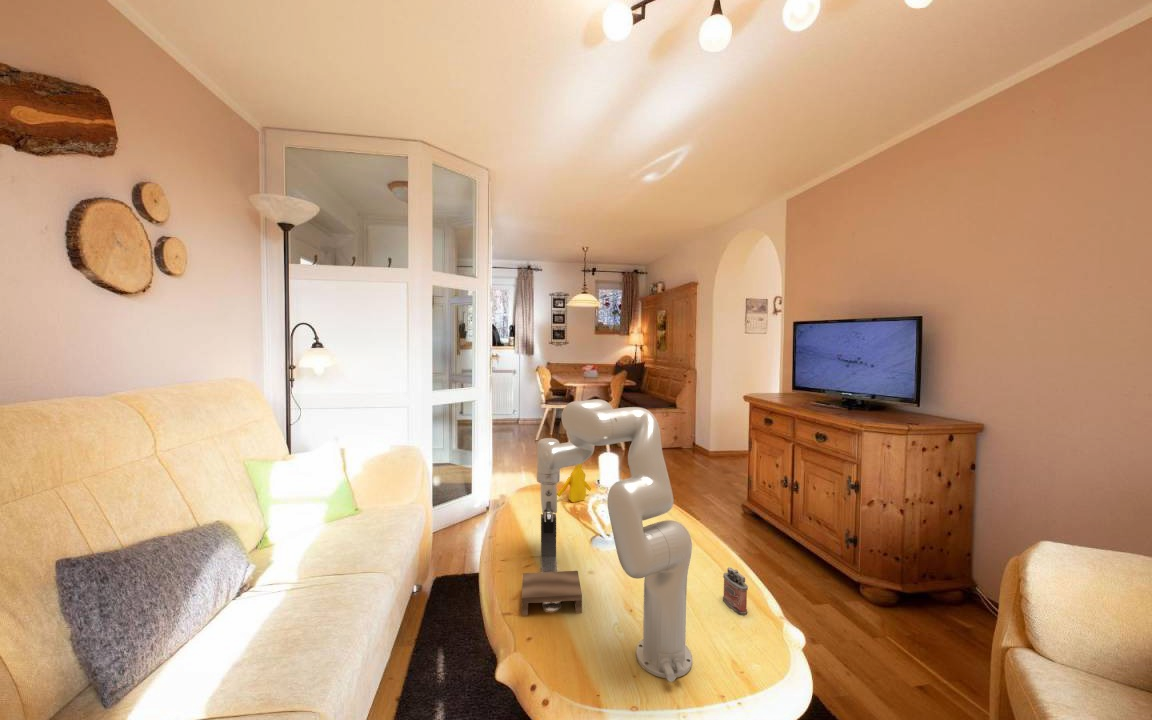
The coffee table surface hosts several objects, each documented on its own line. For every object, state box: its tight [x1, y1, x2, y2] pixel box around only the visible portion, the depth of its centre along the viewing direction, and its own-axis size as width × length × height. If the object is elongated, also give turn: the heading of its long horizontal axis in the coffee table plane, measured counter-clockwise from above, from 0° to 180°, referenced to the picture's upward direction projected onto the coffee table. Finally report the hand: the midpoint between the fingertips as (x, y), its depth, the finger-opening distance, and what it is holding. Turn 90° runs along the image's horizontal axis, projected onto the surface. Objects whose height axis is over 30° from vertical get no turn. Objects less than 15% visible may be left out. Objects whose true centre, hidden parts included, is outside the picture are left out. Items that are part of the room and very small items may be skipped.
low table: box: [521, 570, 583, 617], centre depth 121 cm, size 12×16×5 cm
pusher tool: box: [540, 513, 559, 572], centre depth 137 cm, size 19×5×14 cm, turn 5°
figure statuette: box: [557, 462, 592, 503], centre depth 196 cm, size 18×8×22 cm, turn 118°
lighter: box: [722, 566, 749, 617], centre depth 119 cm, size 8×3×10 cm, turn 21°
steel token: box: [541, 601, 562, 613], centre depth 119 cm, size 5×5×1 cm
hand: (548, 526), depth 145 cm, fingers open, 9 cm apart
